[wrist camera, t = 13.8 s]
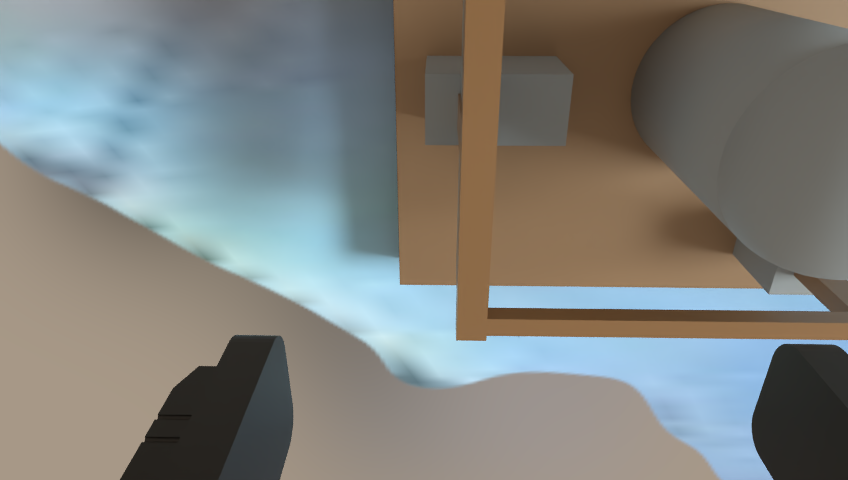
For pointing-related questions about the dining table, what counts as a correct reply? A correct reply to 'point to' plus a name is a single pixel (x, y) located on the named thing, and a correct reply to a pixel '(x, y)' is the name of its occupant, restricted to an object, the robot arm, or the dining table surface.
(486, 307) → the thin wooden rail frame
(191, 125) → the dining table surface
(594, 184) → the wooden peg board
